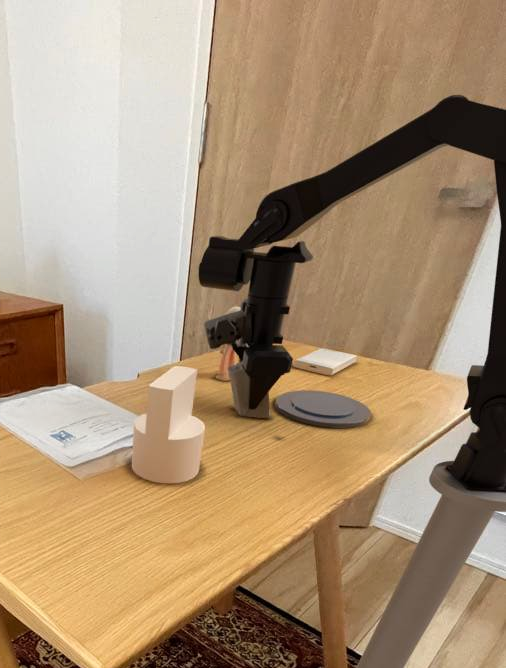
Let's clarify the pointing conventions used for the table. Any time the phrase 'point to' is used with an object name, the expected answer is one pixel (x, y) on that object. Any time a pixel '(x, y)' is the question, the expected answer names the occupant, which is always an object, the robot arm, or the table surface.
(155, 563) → the table surface
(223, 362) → the grandmother figurine
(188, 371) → the base with upright slab
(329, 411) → the plate
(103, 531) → the table surface
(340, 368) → the hard drive
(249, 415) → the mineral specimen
